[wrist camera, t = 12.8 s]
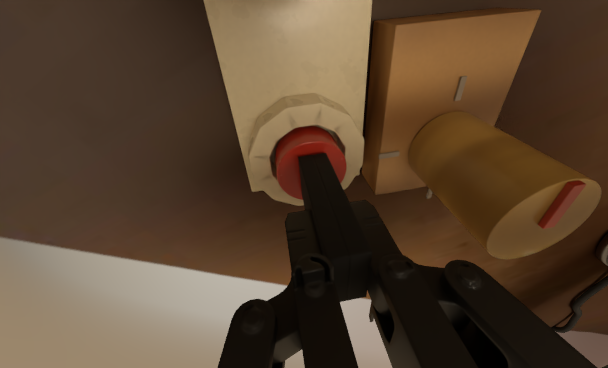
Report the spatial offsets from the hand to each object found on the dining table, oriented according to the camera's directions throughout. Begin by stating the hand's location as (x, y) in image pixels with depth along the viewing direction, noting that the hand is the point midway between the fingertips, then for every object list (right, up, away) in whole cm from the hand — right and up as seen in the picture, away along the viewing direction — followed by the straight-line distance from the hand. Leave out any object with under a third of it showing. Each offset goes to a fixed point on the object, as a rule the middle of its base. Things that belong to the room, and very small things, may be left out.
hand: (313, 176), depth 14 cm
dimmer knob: (+9, +2, +3) cm, 10 cm away
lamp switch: (0, +1, +2) cm, 2 cm away
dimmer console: (+8, +5, +5) cm, 11 cm away
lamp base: (-1, +7, +1) cm, 7 cm away
